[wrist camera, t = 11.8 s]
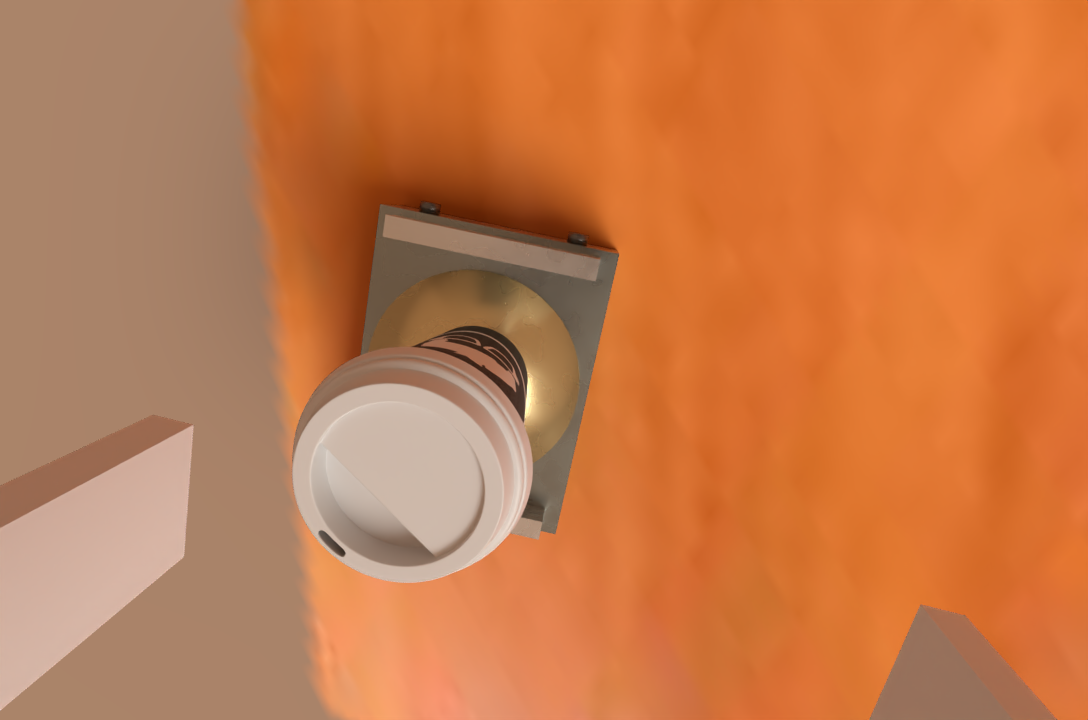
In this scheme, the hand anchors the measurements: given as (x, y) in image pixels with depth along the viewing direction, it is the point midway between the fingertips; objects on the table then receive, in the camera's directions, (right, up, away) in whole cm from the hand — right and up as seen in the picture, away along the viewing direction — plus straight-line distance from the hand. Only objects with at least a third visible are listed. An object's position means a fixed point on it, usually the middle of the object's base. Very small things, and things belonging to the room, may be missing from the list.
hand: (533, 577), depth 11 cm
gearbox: (-4, +4, +30) cm, 31 cm away
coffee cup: (-4, +3, +26) cm, 27 cm away
